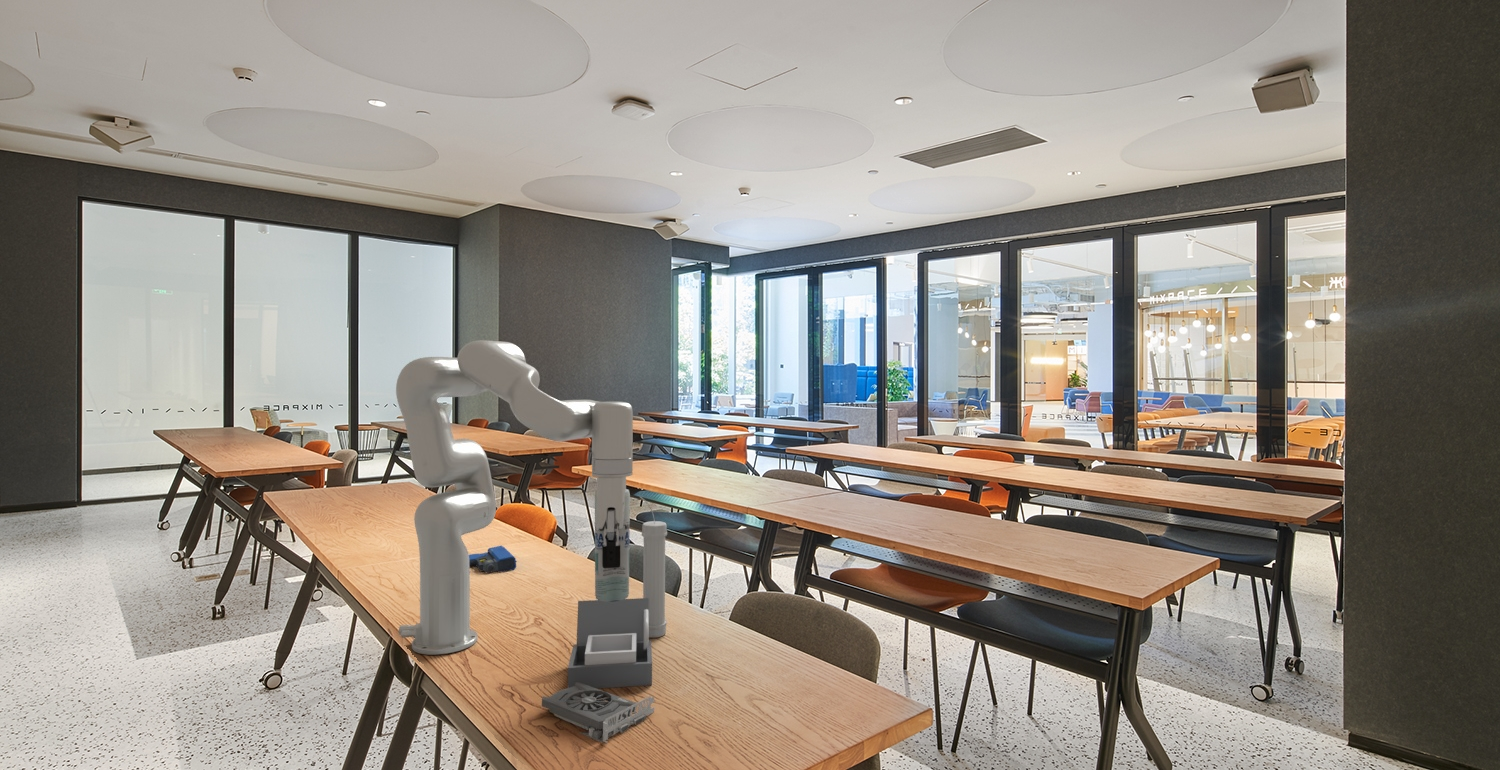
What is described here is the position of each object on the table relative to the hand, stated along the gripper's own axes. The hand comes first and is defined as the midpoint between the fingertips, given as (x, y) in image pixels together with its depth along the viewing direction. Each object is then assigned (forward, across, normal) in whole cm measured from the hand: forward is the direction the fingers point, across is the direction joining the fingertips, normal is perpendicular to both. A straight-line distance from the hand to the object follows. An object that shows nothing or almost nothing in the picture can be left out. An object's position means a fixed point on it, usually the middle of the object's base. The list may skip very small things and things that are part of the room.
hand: (612, 561), depth 133 cm
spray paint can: (+7, 0, 0) cm, 7 cm away
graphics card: (+22, +15, -2) cm, 27 cm away
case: (+22, -2, 0) cm, 22 cm away
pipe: (+22, -20, +8) cm, 31 cm away
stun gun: (+22, -80, -40) cm, 92 cm away
